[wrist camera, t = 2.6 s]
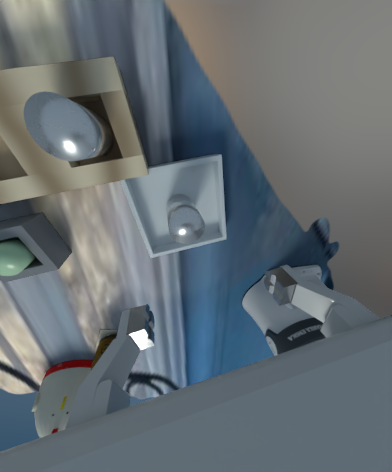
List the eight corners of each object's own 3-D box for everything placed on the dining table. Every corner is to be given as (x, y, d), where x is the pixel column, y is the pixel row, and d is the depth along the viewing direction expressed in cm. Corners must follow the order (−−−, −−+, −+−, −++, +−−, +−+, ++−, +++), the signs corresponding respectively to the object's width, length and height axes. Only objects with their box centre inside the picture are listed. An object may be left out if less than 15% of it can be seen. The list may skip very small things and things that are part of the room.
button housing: (42, 212, 21) (20, 225, 18) (71, 252, 25) (58, 269, 22) (-14, 224, 21) (-47, 239, 17) (25, 263, 24) (3, 282, 21)
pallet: (120, 70, 16) (113, 56, 14) (149, 171, 22) (148, 174, 19) (-102, 98, 14) (-158, 88, 12) (-9, 202, 20) (-34, 210, 17)
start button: (25, 234, 20) (6, 247, 17) (45, 256, 22) (30, 271, 19) (-8, 241, 20) (-32, 255, 17) (16, 263, 22) (-3, 279, 19)
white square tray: (215, 153, 22) (221, 154, 20) (221, 232, 29) (226, 239, 27) (121, 171, 21) (117, 174, 19) (151, 249, 28) (150, 258, 26)
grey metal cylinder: (191, 191, 24) (202, 207, 18) (195, 217, 26) (206, 239, 20) (162, 197, 23) (164, 215, 17) (169, 223, 26) (173, 247, 20)
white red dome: (108, 357, 42) (87, 449, 30) (103, 381, 48) (84, 466, 35) (44, 361, 37) (-14, 472, 25) (47, 387, 43) (1, 487, 30)
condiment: (94, 349, 39) (73, 420, 29) (100, 328, 36) (77, 402, 26) (125, 348, 42) (115, 414, 32) (133, 330, 38) (125, 396, 28)
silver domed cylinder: (103, 107, 17) (74, 87, 11) (119, 152, 19) (103, 155, 13) (60, 113, 16) (7, 96, 11) (83, 159, 19) (49, 165, 13)
